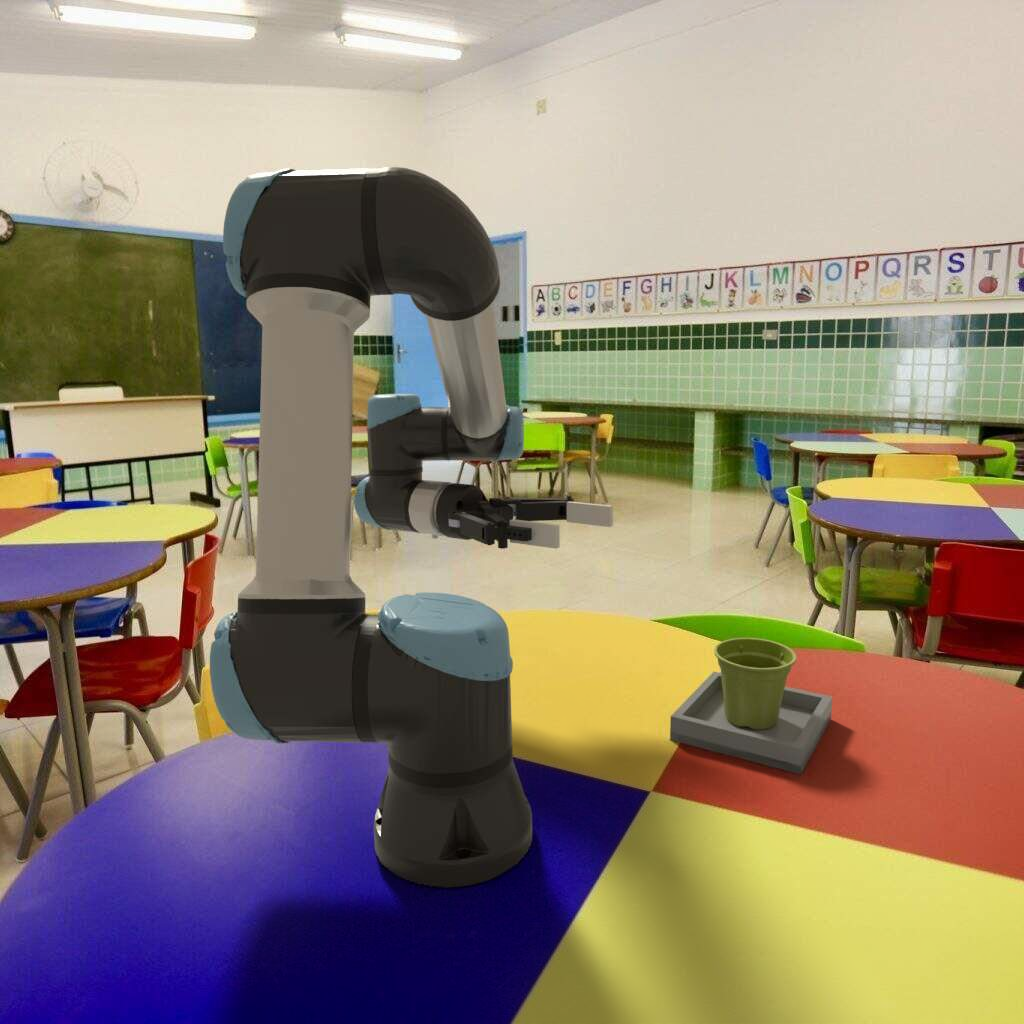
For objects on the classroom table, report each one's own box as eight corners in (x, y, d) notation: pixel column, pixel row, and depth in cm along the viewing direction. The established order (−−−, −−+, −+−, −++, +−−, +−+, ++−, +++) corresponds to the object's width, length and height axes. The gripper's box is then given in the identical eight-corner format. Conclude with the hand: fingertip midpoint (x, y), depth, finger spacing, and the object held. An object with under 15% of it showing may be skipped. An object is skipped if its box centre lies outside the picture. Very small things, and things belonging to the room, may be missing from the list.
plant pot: (809, 728, 96) (814, 659, 94) (744, 744, 92) (747, 673, 90) (757, 696, 104) (761, 633, 102) (696, 710, 101) (698, 644, 99)
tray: (800, 774, 87) (802, 749, 87) (670, 739, 96) (670, 716, 95) (831, 719, 100) (832, 696, 99) (713, 692, 108) (713, 671, 107)
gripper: (502, 520, 122) (630, 536, 110) (389, 555, 102) (532, 579, 90) (501, 471, 120) (631, 481, 109) (387, 497, 100) (531, 513, 88)
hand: (586, 526), depth 99 cm, fingers open, 13 cm apart
